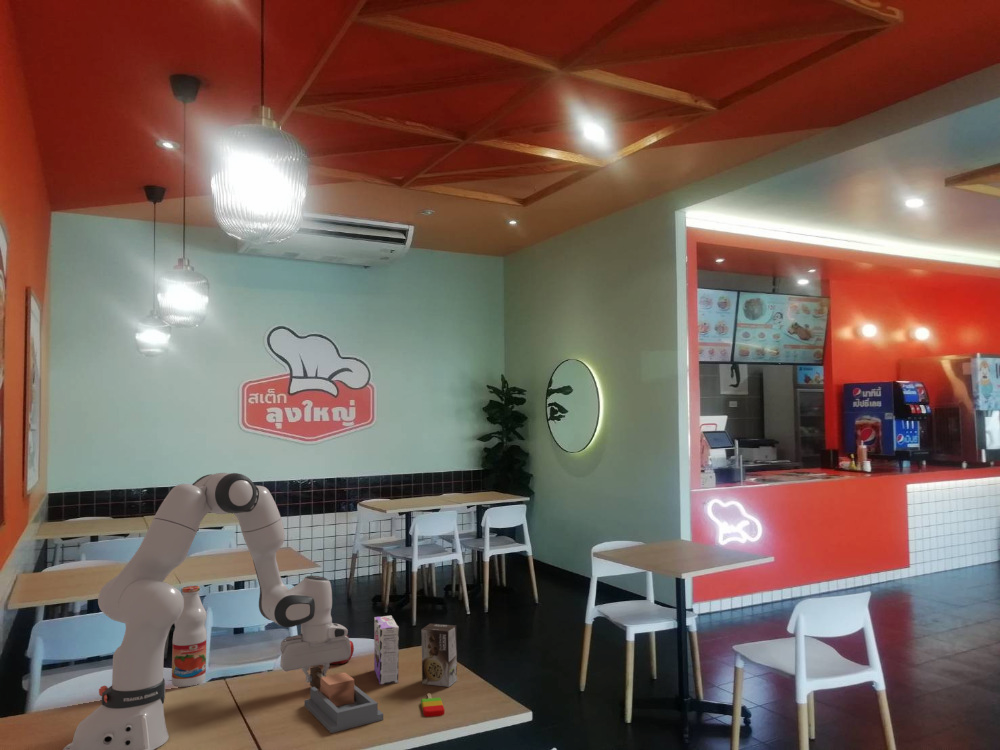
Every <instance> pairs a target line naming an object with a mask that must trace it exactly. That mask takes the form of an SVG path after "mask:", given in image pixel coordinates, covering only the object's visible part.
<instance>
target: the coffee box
mask: <svg viewBox="0 0 1000 750" xmlns="http://www.w3.org/2000/svg"><path fill="white" fill-rule="evenodd" d="M420 632H421V684H422V685H427V686H428V685H431V686H438V687H447V688H450V687H451V686H452V685H453V684H455V683H456V682H457V681H458V665H457V664H458V659H457V657H458V651H457V650H458V648H457V645H458V644H457V643H458V642H457V625H453V624H443V623H428V624H427V625H426V626H424V627H423V628H421V631H420Z"/></svg>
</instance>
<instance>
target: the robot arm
mask: <svg viewBox="0 0 1000 750" xmlns="http://www.w3.org/2000/svg"><path fill="white" fill-rule="evenodd" d="M207 514H216V515H227V514H228V515H229V514H234V515H235V517H236V518H237V521H238V523H239V528H240V530H241V531H240V532H241V534H242V536H243V537H242V538H243V539H244V542H245V545H246V547H247V549H248V552H249V554H250V555H251V558H252V561H253V565H254V570H255V574H256V578H257V581H258V582H257V583H258V586H259V598H258V610H259V612H260V614H261V616H262V617H264V618H265V619H267V620H268V621H272V622H273V623H275V624H276V625H278V626H280V627H283V628H293V627H297V626H298V625H300V634H297V635H293V636H290V635H289V636H286V637H285V638H284V639H283V640H282V641H281V642H280V652H281V655H280V664H279V665H280V668H281V669H282V670H284V671H285V672H290V671H296V670H300V669H301V670H302V672H303V673H304V675H305V682H306V683H310V682H313V676H312V675H311V674H310V673H309V672H310V668H312V667H317V666H321V665H322V666H323V668H322V675H323V676H324V677H325V676H327V672H328V671H329V669H330V663H332V662H337V661H342V660H347V659H349V657H350V655H351V648H350V641H351V639H350V637H349V636H348V633H349V632H348V631H349V630H348V629H347V627H345V626H344V625H342V624H339V623H333V617H332V615H331V614H332V613H331V612H332V607H333V591H332V584H331V581H330V580H329V579H328V578H326V577H325V576H324V577H323V576H319V575H306V576H305V577H304V578H303V579H302V580H301V581H300V582H299V583H297V584H296V585H295V586H293V587H292V588H290V589H289V588H288V587H287V586H286V584H285V583H284V582H283V580H282V577H281V574H280V569H279V565H278V562H277V561H278V560H277V552H278V550H279V549H280V548H281V547H282V546H283V544H284V542H285V539H286V538H285V537H286V536H285V529H284V524H283V520H282V517H281V513H280V511H279V509H278V505H277V504H276V501H275V500H274V497H273V495H272V493H271V492H270V490H269V488H267V487H265V486H263V485H255V483H254V482H253V480H251V479H250V478H249V477H248V476H246V475H244V474H242V473H235V472H233V473H230V472H229V473H227V472H218V473H217V472H216V473H213V474H212V473H211V474H206V475H203V476H201V477H199V478H198V479H196V481H194V482H193V483H192V484H191V483H183V484H182V483H181V484H178V485H175V486H174V487H172V488H171V489H170V491H169V493H168V494H167V495H166V497H165V498H164V500H163V501H162V502H161V504H160V505H159V507H158V509H157V511H156V513H155V515H154V517H153V520H152V522H151V523H150V525H149V527H148V529H147V531H146V533H145V535H144V538H143V540H142V541H141V543H140V545H139V546H138V548H137V551H136V552H135V554H134V555H133V556H132V557H131V558H130V560H129V561H128V562H127V564H126V565H125V566H124V567H123V568H122V569H121V571H120V572H119V573H118V574H117V575H116V576H115V577H113V578H112V579H110V580H108V581H107V582H106V583H105V584H104V585H103V586H102V588H101V589H100V591H99V593H98V597H97V604H98V607H99V610H100V611H101V612H102V613H103V614H104V615H105V616H107V617H108V618H109V619H111V620H112V621H114V622H119V623H123V624H125V632H124V635H123V639H122V641H121V644H120V646H119V647H117V648H116V650H115V651H114V652H113V655H112V673H111V674H112V676H111V677H112V678H111V680H112V681H111V686H107V685H102V686H100V688H99V689H98V694H99V696H100V697H101V705H99V706H98V707H97V708H96V709H95V710H93V711H92V712H91V713H90V714H88V716H86V717H85V718H83V719H82V720H81V721H80V722H79V724H78V725H77V727H76V729H75V732H74V734H73V739H72V742H70V743H69V744H67V745H66V746H65V747H64V748H63V749H62V750H156V749H157V748H160V747H161V746H163V745H164V744H166V742H167V741H169V738H170V737H169V731H168V729H167V725H166V718H165V710H164V703H165V699H166V680H165V678H164V665H165V664H164V661H165V660H164V659H165V658H164V657H165V650H166V649H165V647H166V643H167V639H168V635H169V633H170V630H171V628H172V626H173V625H175V624H174V623H175V622H176V621H177V620H178V618H179V617H180V615H181V613H182V611H183V607H184V599H183V594H182V591H180V589H178V588H176V587H175V586H173V585H172V584H169V583H167V582H165V580H166V578H168V576H169V574H171V573H172V572H173V571H174V570H175V569H176V568H177V567H179V566H181V565H182V564H183V562H184V561H185V560H186V557H187V555H188V553H189V550H190V549H191V546H192V543H193V541H194V539H195V537H196V535H197V532H198V531H199V527H200V525H201V522H202V521H203V520H204V518H205V516H206V515H207ZM347 636H348V637H347ZM308 671H309V672H308Z"/></svg>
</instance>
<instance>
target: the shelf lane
mask: <svg viewBox="0 0 1000 750" xmlns="http://www.w3.org/2000/svg"><path fill="white" fill-rule="evenodd" d="M309 689H310V690H309V691H310V696H309V698H308V699H307V698H306V699H304V704H303V706H304V708H306V709H307V710H308V711H309V712H310V713H311V714H312V715H313V716H314V718H315V719H317V720H318V721H319V723H321V724H322V726H324V728H325V729H326V730H327V731H328V732H330V734H333V733H337V732H342V731H346V730H349V729H352V728H358V727H360V726H364V725H368V724H371V723H376V722H380V721H383V720H384V713H383V712H382V711H381V710H380V709H378V708H379V707H378V706H379V705H378V702H377V701H375V700H374V699H373V698H372V697H370V696H369V695H368V694H367V693H365V692H364V691H363V690H361V688H359V687H358V686H357V685H355V684H354V703H350V704H346V705H342V706H337V707H336V706H335V705H334V704H333V703H332V702H331V701H330V700H329V699H328V698H326V697H325V696H324V695H323V694H322V693H321V692H320V689H318V688H316V687H311V686H310V688H309Z"/></svg>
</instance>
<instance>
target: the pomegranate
mask: <svg viewBox="0 0 1000 750" xmlns="http://www.w3.org/2000/svg"><path fill="white" fill-rule="evenodd" d="M347 637H348V638H349V635H347ZM350 648H351V655H350V657H349V659H347V660H342V661H337V662H332V663H330V664H331V665H343V664H346V663H347V662H349V661H350V660H351V659H352V657H353V654H354V651H355V647H354V643H353V641H351V640H350Z"/></svg>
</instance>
